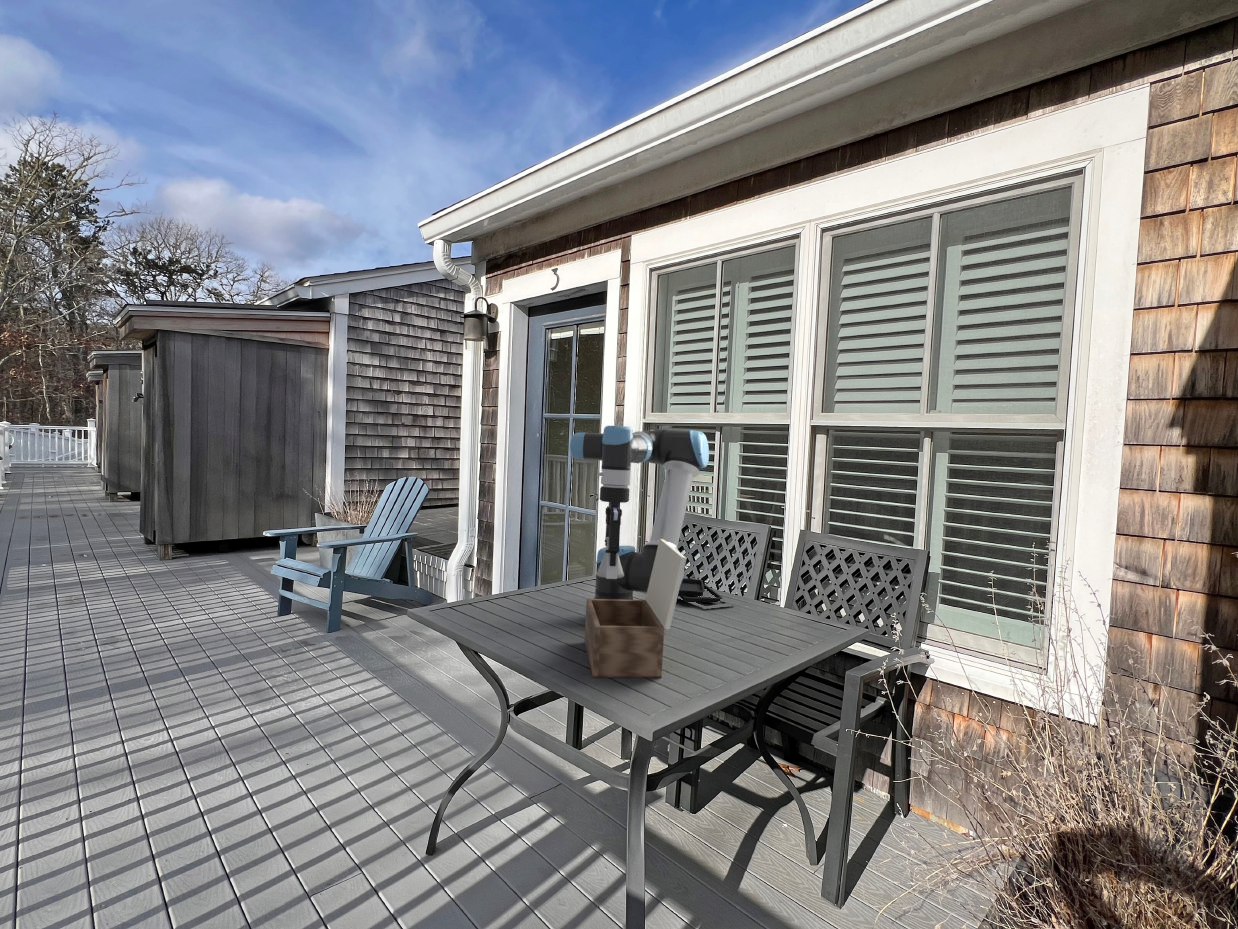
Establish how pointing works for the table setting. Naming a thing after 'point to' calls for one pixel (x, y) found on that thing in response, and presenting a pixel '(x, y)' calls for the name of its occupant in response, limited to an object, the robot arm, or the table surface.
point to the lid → (665, 582)
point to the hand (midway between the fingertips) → (610, 575)
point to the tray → (696, 591)
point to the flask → (603, 565)
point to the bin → (623, 639)
